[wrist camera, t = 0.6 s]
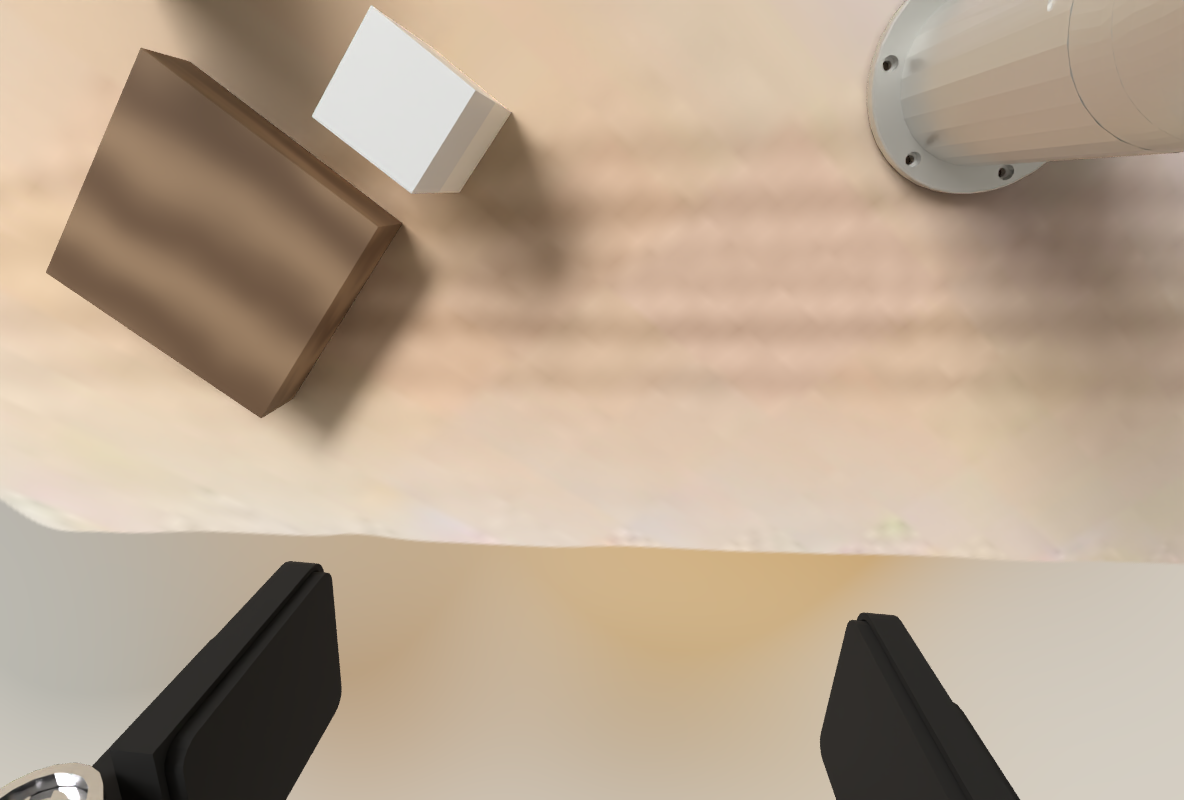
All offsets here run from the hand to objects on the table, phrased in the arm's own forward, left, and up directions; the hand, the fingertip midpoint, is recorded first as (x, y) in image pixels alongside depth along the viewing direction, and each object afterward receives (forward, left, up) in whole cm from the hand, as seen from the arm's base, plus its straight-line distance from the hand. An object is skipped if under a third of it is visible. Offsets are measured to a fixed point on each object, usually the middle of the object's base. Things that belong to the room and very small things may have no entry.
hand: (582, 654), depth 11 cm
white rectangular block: (-3, -16, -33) cm, 36 cm away
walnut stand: (+12, -23, -33) cm, 42 cm away
